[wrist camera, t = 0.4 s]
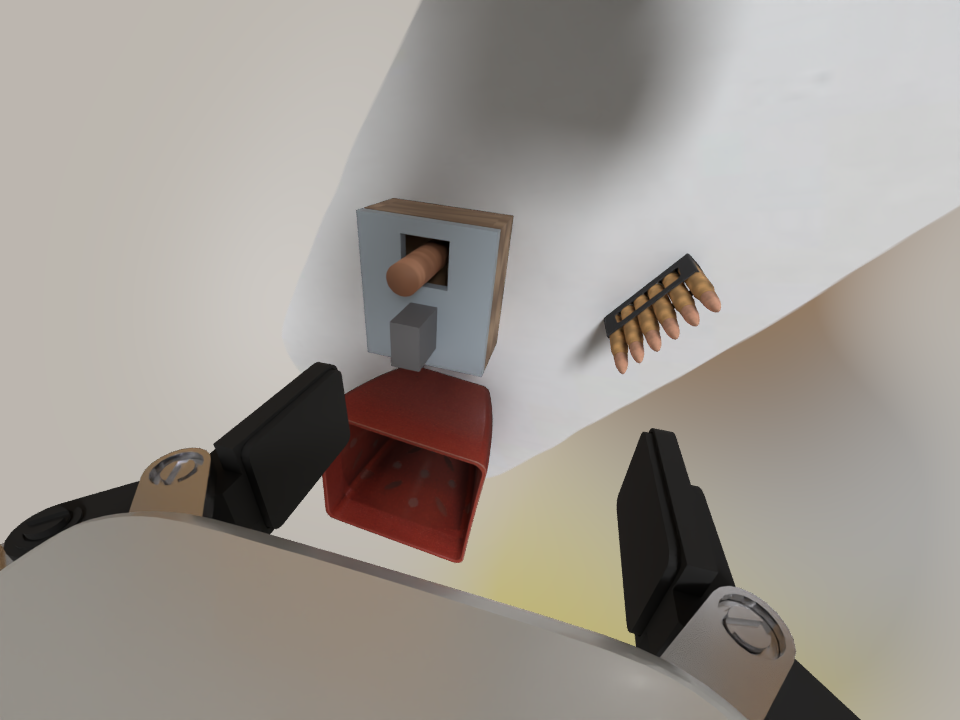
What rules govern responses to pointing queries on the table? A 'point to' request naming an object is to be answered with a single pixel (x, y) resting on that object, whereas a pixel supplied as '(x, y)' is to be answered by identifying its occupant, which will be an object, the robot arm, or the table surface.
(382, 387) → the plant pot
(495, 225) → the brown hollow box
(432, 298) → the toolbox lid
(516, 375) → the table surface
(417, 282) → the brown rounded cylinder
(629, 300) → the ammunition clip
